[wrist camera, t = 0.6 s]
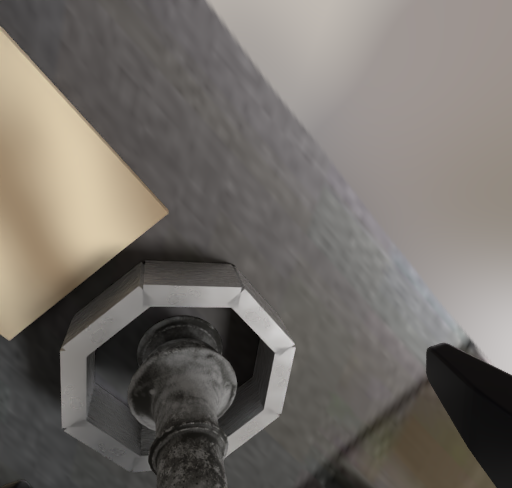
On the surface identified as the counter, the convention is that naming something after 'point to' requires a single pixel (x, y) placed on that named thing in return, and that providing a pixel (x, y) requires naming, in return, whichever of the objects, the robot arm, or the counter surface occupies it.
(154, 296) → the white octagonal ring
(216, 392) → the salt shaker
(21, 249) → the beige pad
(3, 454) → the counter surface
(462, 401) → the robot arm
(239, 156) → the counter surface
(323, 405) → the counter surface
